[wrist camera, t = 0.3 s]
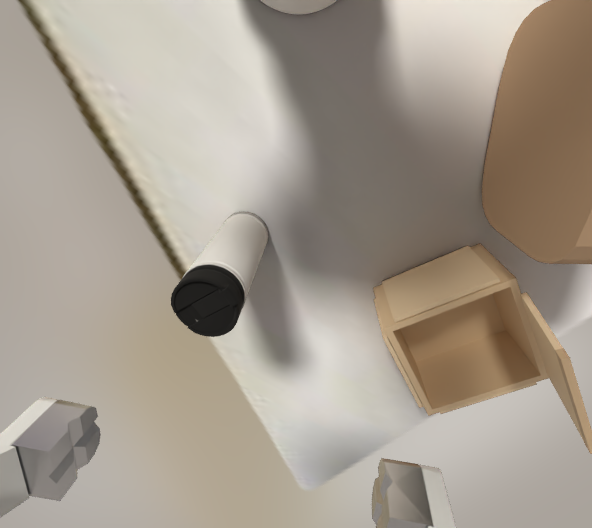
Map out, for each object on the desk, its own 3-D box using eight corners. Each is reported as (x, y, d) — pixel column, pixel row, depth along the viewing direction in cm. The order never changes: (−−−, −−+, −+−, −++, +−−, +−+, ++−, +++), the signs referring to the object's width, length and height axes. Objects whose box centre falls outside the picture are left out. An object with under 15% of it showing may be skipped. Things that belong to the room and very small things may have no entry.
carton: (367, 286, 52) (376, 326, 43) (478, 239, 48) (514, 273, 39) (409, 368, 58) (425, 420, 49) (512, 332, 54) (550, 381, 45)
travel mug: (279, 239, 50) (255, 322, 32) (240, 262, 52) (196, 352, 34) (253, 200, 48) (211, 265, 30) (213, 225, 50) (151, 301, 32)
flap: (547, 375, 43) (590, 453, 35) (519, 293, 39) (560, 359, 31) (553, 373, 43) (598, 452, 34) (526, 291, 39) (569, 357, 30)
